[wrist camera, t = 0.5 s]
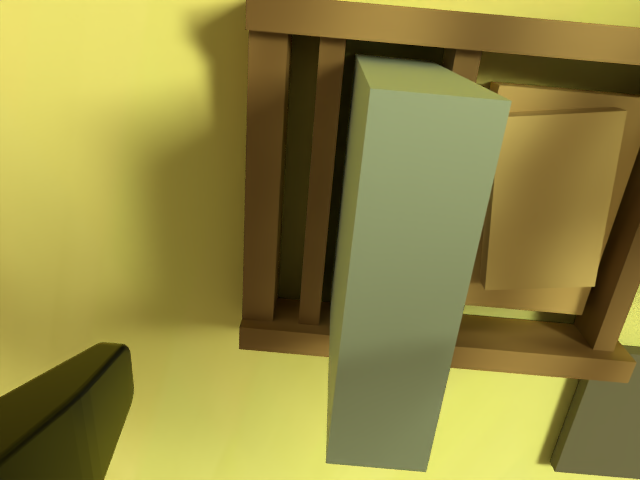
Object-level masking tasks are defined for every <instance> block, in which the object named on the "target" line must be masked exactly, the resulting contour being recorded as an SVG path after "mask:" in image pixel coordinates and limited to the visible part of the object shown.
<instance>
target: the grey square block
mask: <svg viewBox="0 0 640 480" xmlns="http://www.w3.org/2000/svg"><path fill="white" fill-rule="evenodd" d="M511 102H512V101H511V100H509V99H507V98H505V97H503V96H501V95H499V94H497V93H495V92H493V91H491V90H489V89H487V88H485V87H483V86H481V85H479V84H477V83H475V82H473V81H470V80H468V79H466V78H464V77H462V76H460V75H458V74H456V73H454V72H452V71H450V70H448V69H446V68H444V67H442V66H440V65H438V64H436V63H434V62H432V61H429V60H418V59H407V58H396V57H385V56H374V55H363V54H355V63H354V73H353V82H352V92H351V102H350V111H349V121H348V130H347V140H346V149H345V159H344V169H343V178H342V188H341V197H340V207H339V217H338V226H337V236H336V245H335V255H334V265H333V274H332V284H331V301H330V337H329V373H328V409H327V445H326V463H329V464H340V465H352V466H363V467H374V468H386V469H397V470H409V471H420V472H426V470H427V466H428V461H429V457H430V453H431V448H432V444H433V440H434V436H435V431H436V427H437V423H438V418H439V414H440V410H441V405H442V401H443V397H444V392H445V388H446V384H447V379H448V375H449V371H450V366H451V362H452V358H453V353H454V349H455V345H456V340H457V336H458V332H459V327H460V323H461V319H462V314H463V310H464V306H465V301H466V297H467V293H468V288H469V284H470V280H471V275H472V271H473V267H474V262H475V258H476V254H477V249H478V245H479V241H480V236H481V232H482V228H483V223H484V219H485V215H486V211H487V206H488V202H489V198H490V193H491V189H492V185H493V180H494V176H495V172H496V167H497V163H498V159H499V154H500V150H501V146H502V141H503V137H504V133H505V128H506V124H507V120H508V115H509V111H510V107H511Z"/></svg>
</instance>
